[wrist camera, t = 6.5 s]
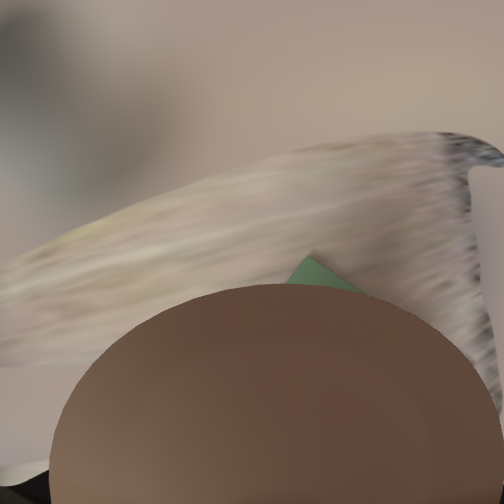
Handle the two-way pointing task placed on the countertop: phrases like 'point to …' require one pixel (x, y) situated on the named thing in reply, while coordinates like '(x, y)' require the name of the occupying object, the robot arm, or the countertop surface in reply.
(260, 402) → the jar
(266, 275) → the countertop surface
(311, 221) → the countertop surface
